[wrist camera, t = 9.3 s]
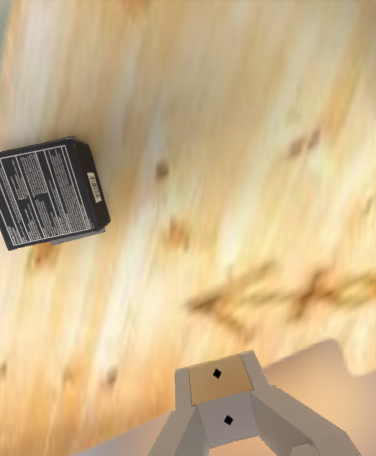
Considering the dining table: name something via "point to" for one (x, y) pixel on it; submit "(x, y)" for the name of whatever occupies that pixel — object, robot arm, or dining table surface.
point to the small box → (49, 193)
